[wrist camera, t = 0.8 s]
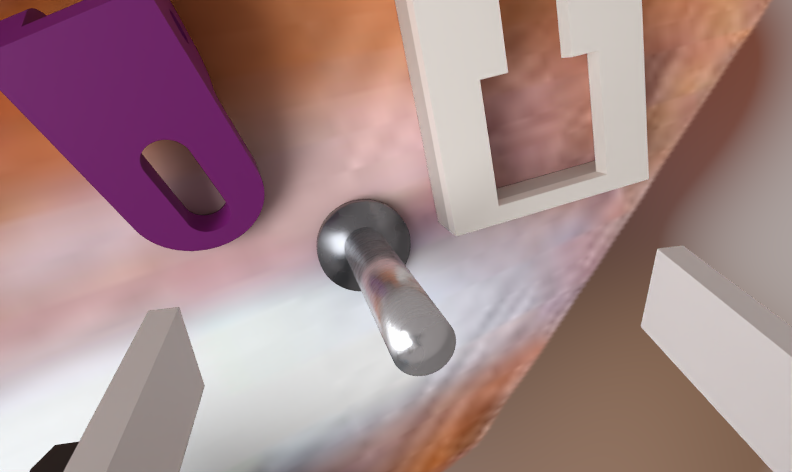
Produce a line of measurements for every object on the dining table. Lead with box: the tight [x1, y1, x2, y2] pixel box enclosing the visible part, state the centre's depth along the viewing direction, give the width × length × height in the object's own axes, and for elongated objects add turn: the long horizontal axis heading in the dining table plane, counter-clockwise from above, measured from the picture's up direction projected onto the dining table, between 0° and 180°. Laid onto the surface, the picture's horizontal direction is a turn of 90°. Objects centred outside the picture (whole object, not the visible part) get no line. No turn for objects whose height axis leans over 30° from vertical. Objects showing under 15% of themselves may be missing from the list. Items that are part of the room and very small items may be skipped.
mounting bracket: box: [0, 0, 264, 251], centre depth 35 cm, size 10×8×18 cm
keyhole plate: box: [395, 0, 649, 237], centre depth 40 cm, size 24×18×4 cm
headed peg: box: [317, 199, 456, 376], centre depth 35 cm, size 8×8×18 cm
